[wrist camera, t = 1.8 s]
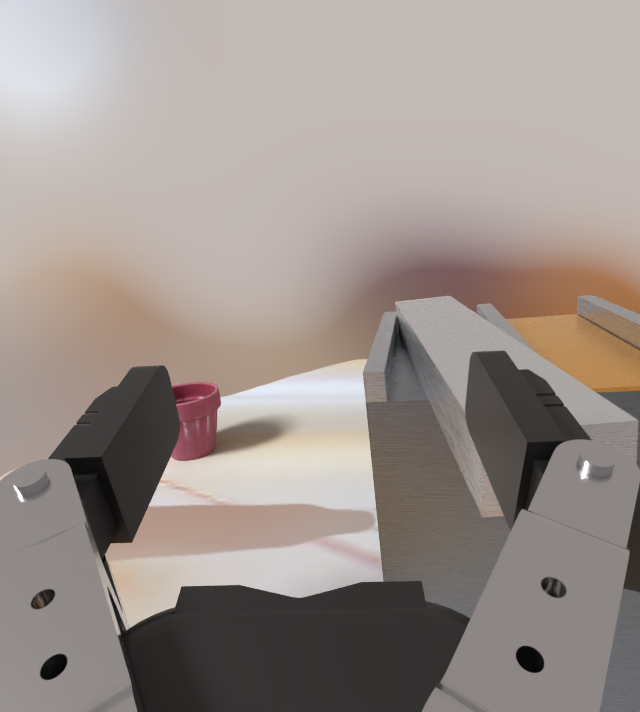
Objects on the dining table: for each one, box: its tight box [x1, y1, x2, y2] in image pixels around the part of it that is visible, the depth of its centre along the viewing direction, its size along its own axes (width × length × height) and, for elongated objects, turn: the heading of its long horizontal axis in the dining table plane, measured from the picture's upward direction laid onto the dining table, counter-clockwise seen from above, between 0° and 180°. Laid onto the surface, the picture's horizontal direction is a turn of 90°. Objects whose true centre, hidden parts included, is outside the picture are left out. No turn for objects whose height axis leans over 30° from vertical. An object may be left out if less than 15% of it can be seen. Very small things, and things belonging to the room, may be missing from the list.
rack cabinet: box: [363, 295, 640, 712], centre depth 33 cm, size 16×15×34 cm
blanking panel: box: [395, 296, 638, 517], centre depth 24 cm, size 24×4×2 cm, turn 177°
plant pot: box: [171, 382, 221, 461], centre depth 97 cm, size 14×14×13 cm
